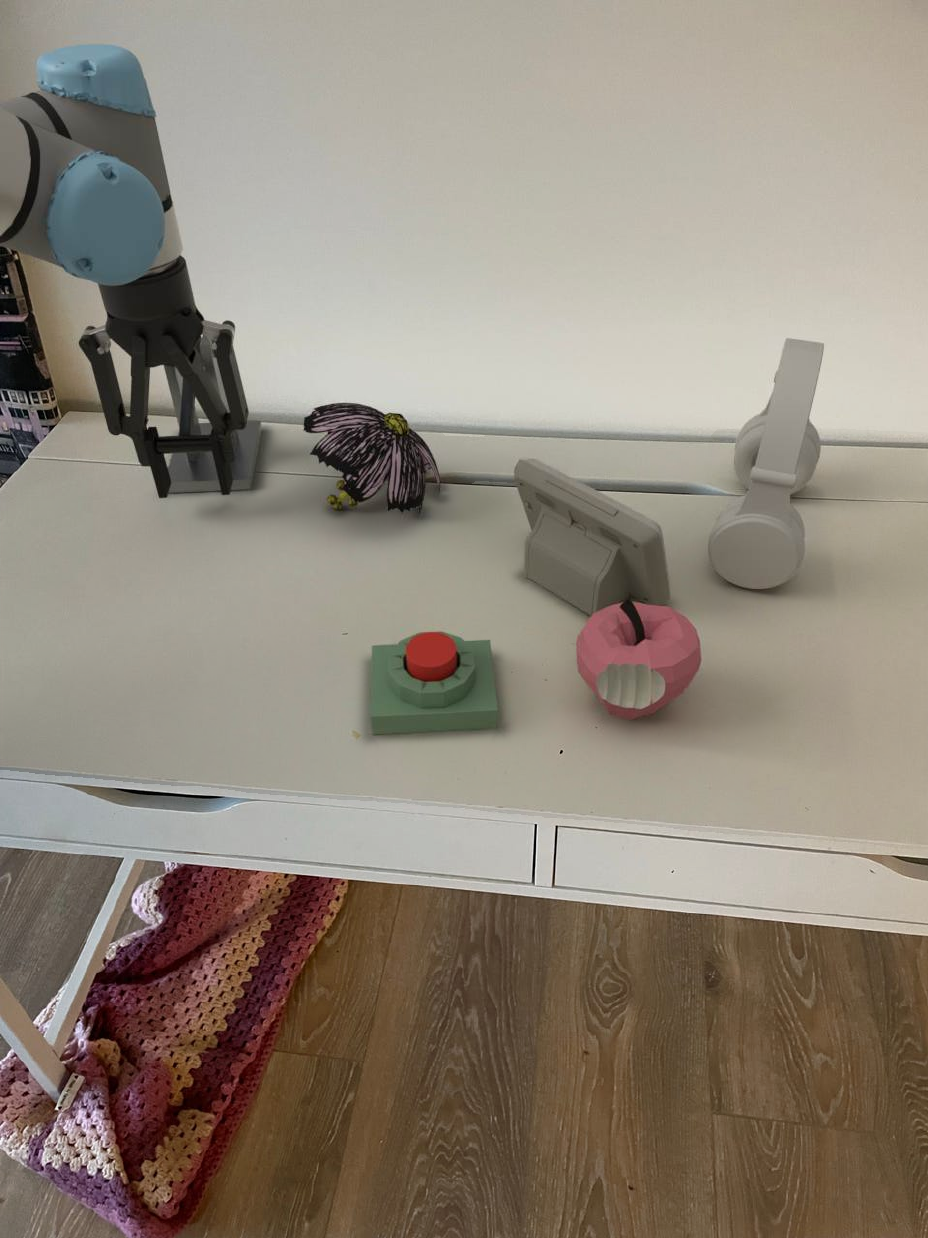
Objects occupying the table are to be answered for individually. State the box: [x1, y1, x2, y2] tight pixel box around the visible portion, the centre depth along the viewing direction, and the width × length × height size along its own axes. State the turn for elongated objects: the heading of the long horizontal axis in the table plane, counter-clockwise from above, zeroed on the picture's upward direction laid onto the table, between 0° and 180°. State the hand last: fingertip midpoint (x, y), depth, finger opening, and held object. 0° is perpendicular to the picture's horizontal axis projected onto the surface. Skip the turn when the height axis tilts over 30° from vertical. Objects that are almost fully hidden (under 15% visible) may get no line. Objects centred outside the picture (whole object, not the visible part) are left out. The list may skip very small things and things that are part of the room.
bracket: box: [163, 335, 263, 494], centre depth 99 cm, size 12×9×15 cm
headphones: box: [707, 337, 825, 590], centre depth 87 cm, size 20×8×19 cm, turn 160°
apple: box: [575, 596, 702, 721], centre depth 73 cm, size 10×9×10 cm
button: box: [406, 631, 457, 682], centre depth 75 cm, size 4×4×2 cm
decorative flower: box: [303, 402, 442, 517], centre depth 95 cm, size 14×12×15 cm
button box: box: [369, 630, 499, 736], centre depth 76 cm, size 10×8×4 cm
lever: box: [154, 336, 212, 455], centre depth 93 cm, size 13×6×2 cm, turn 3°
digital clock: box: [513, 458, 671, 617], centre depth 85 cm, size 16×9×11 cm, turn 33°
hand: (196, 488), depth 95 cm, fingers closed on lever, 5 cm apart
